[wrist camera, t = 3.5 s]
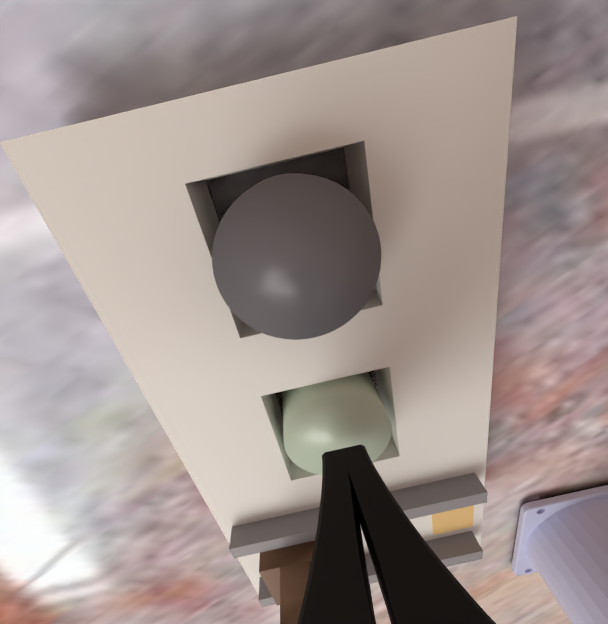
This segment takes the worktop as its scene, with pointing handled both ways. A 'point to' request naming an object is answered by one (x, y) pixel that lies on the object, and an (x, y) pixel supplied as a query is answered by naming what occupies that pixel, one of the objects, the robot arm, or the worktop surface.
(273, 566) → the walnut slider
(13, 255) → the worktop surface
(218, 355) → the control panel
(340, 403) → the sage button
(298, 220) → the charcoal button
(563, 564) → the robot arm
